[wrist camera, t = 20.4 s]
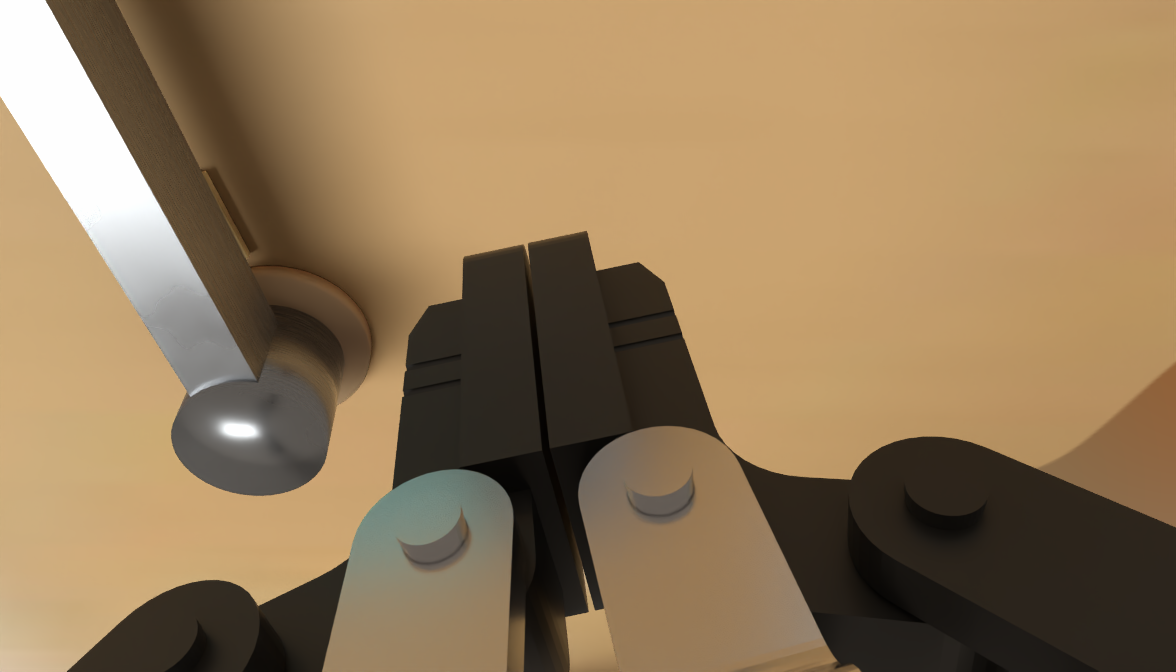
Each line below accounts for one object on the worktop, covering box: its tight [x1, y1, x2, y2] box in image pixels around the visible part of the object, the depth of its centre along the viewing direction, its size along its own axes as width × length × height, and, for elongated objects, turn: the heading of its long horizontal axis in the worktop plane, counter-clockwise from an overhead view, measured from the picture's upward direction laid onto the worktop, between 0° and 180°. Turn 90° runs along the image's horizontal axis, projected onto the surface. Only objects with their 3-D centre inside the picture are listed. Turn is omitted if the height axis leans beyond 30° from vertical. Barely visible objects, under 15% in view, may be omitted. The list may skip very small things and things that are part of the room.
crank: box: [0, 0, 345, 496], centre depth 22 cm, size 18×5×4 cm, turn 10°
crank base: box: [202, 171, 372, 405], centre depth 28 cm, size 10×6×1 cm, turn 12°
